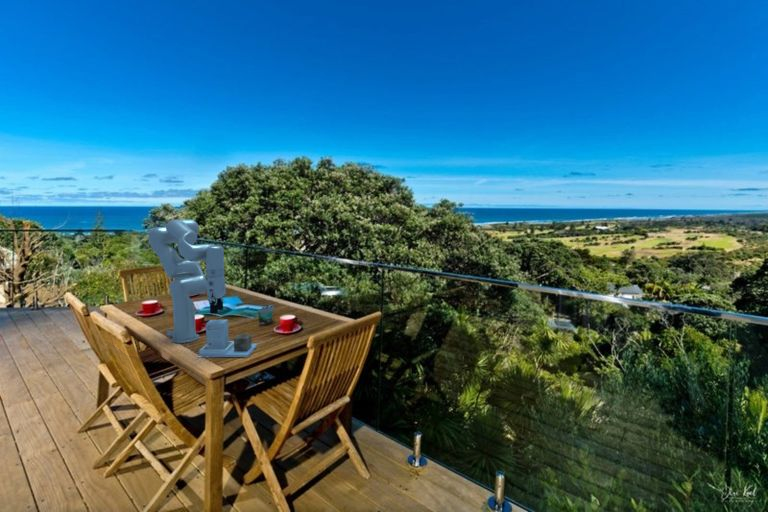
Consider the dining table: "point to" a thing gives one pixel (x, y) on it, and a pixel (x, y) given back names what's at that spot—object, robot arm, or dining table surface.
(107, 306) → the dining table surface
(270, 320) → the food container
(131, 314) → the dining table surface
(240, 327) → the dining table surface
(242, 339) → the dark gray block
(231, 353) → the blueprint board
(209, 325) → the small box
